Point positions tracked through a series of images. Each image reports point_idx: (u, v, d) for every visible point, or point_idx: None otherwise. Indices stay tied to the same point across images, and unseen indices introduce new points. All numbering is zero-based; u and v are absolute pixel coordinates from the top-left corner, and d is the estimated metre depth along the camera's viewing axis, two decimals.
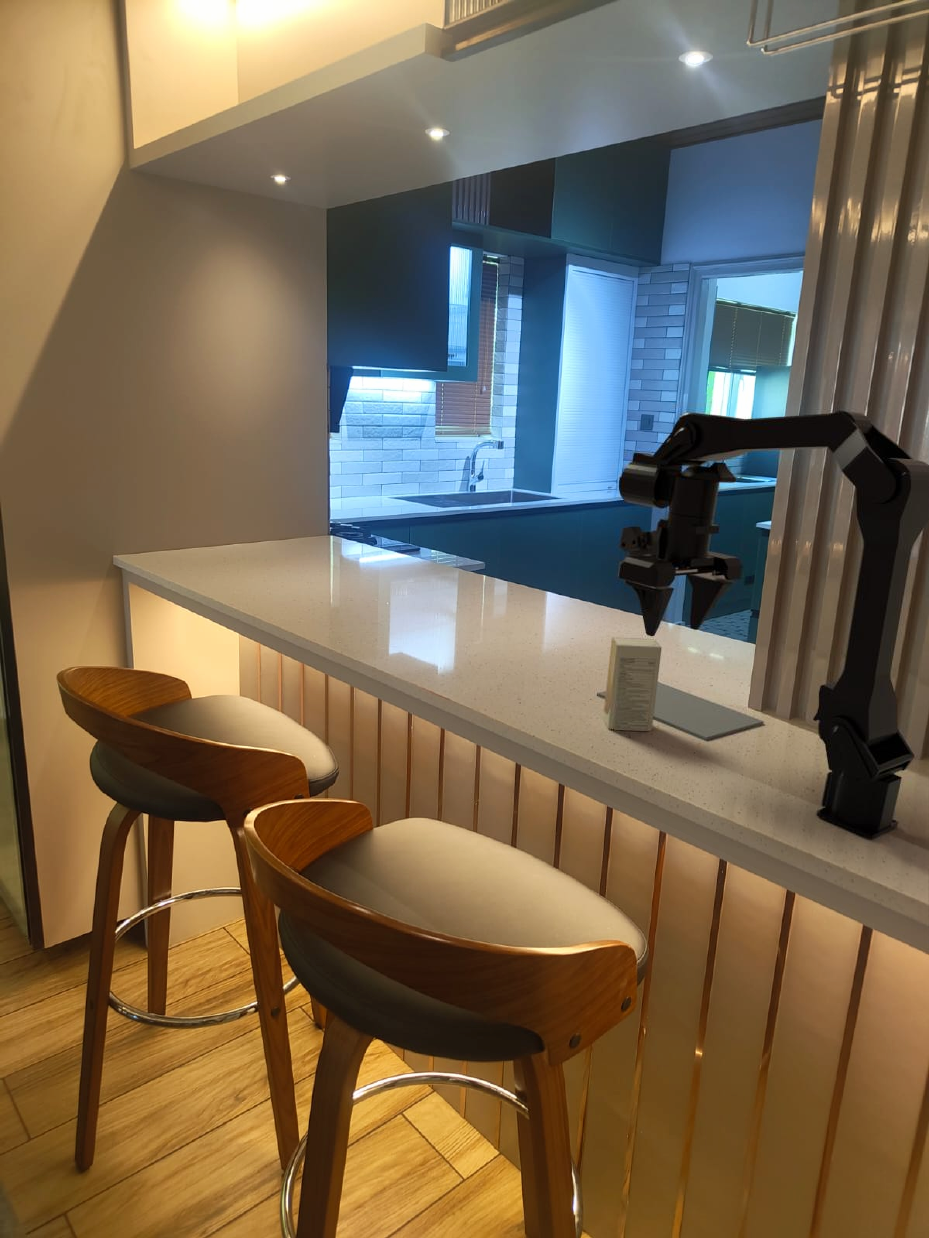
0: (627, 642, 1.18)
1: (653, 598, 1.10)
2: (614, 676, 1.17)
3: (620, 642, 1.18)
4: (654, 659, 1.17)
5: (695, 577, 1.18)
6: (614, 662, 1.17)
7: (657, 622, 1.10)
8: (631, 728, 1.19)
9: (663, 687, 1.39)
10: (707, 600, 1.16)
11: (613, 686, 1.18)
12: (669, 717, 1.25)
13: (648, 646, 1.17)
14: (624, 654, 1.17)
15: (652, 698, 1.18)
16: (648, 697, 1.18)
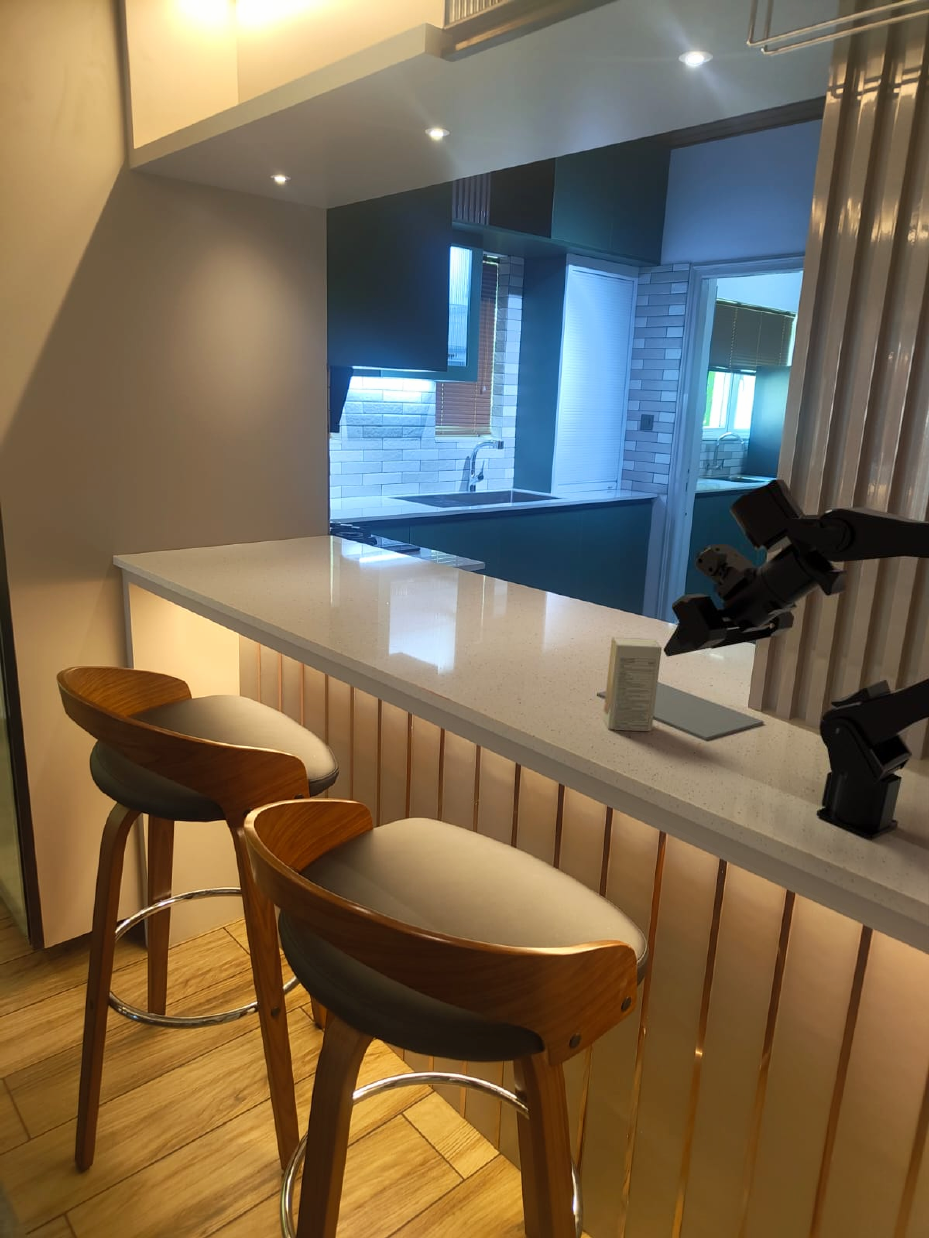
0: (627, 642, 1.18)
1: None
2: (614, 676, 1.17)
3: (620, 642, 1.18)
4: (654, 659, 1.17)
5: None
6: (614, 662, 1.17)
7: (678, 654, 1.07)
8: (631, 728, 1.19)
9: (663, 687, 1.39)
10: (738, 637, 1.12)
11: (613, 686, 1.18)
12: (669, 717, 1.25)
13: (648, 646, 1.17)
14: (624, 654, 1.17)
15: (652, 698, 1.18)
16: (648, 697, 1.18)
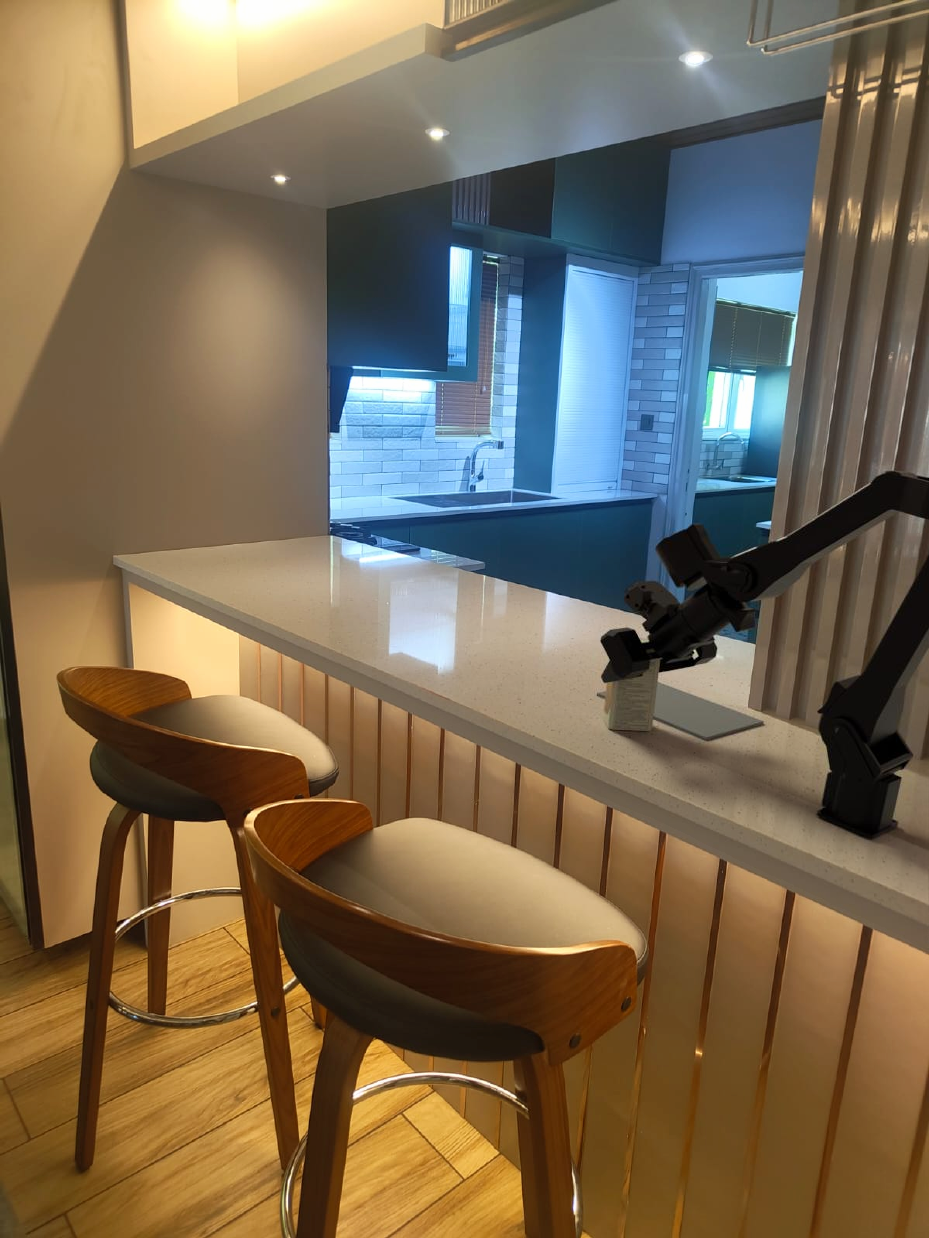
0: None
1: None
2: None
3: None
4: None
5: None
6: None
7: (613, 681, 1.17)
8: (631, 728, 1.19)
9: (663, 687, 1.39)
10: (663, 666, 1.20)
11: (613, 686, 1.18)
12: (669, 717, 1.25)
13: None
14: None
15: (652, 698, 1.18)
16: (648, 697, 1.18)
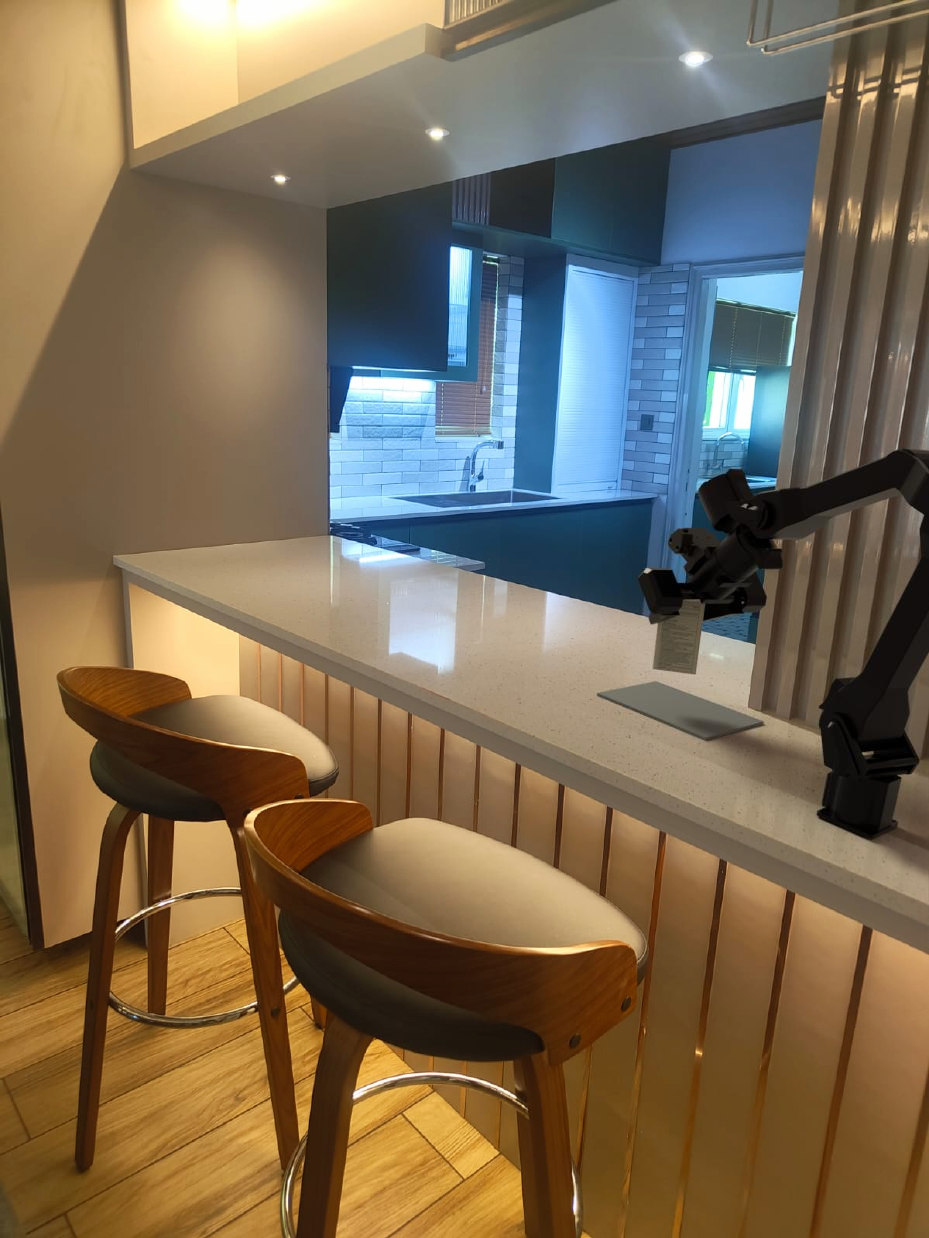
0: None
1: None
2: None
3: None
4: (699, 603, 1.22)
5: None
6: None
7: (657, 621, 1.23)
8: (675, 670, 1.24)
9: (663, 687, 1.39)
10: (712, 612, 1.24)
11: (658, 627, 1.24)
12: (669, 717, 1.25)
13: None
14: None
15: (696, 642, 1.23)
16: (692, 640, 1.23)
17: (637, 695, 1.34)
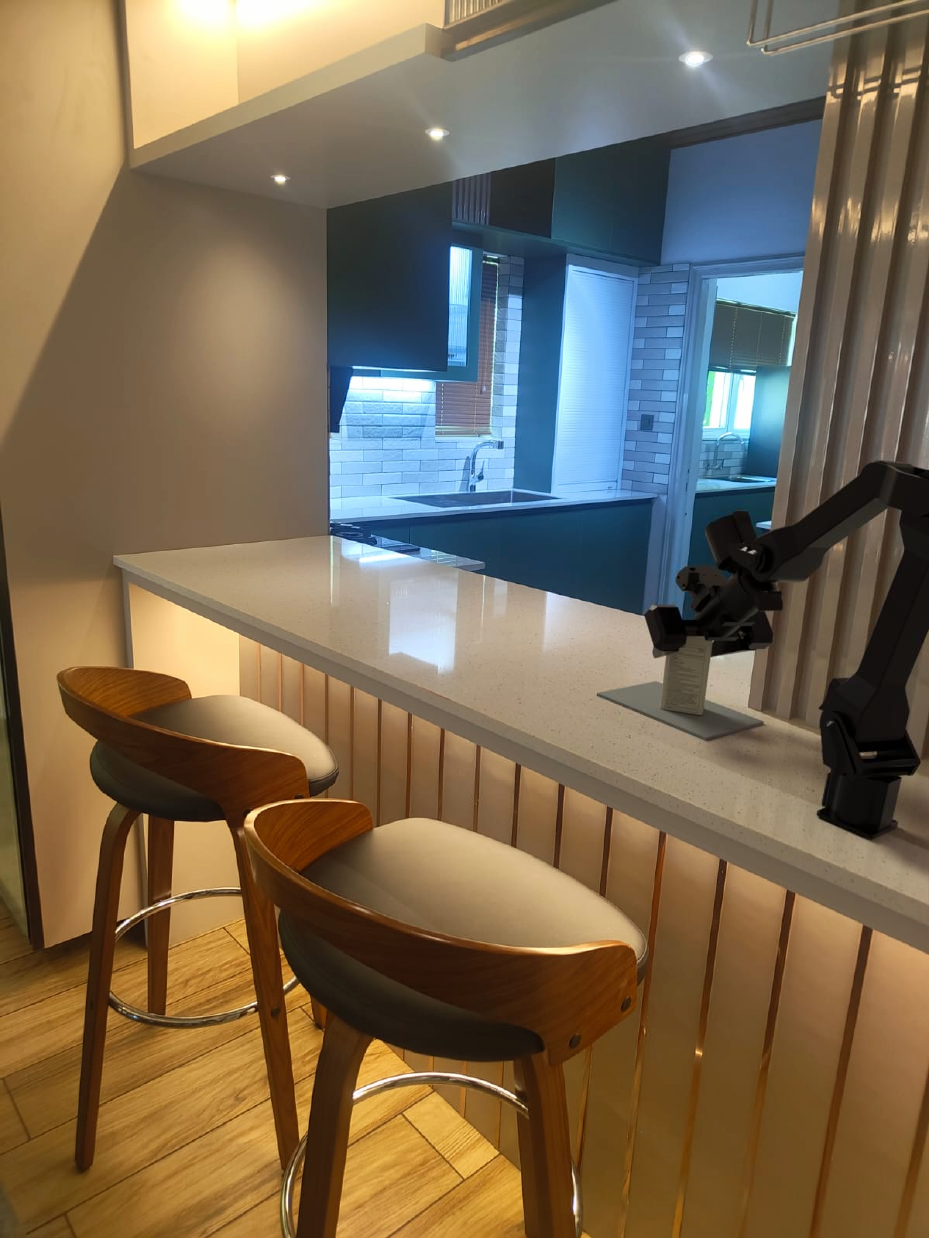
0: None
1: None
2: (666, 659, 1.27)
3: None
4: (705, 646, 1.24)
5: None
6: None
7: (659, 656, 1.26)
8: (681, 710, 1.27)
9: None
10: (725, 648, 1.27)
11: (665, 668, 1.27)
12: (669, 717, 1.25)
13: None
14: None
15: (702, 684, 1.26)
16: (698, 682, 1.26)
17: (637, 695, 1.34)
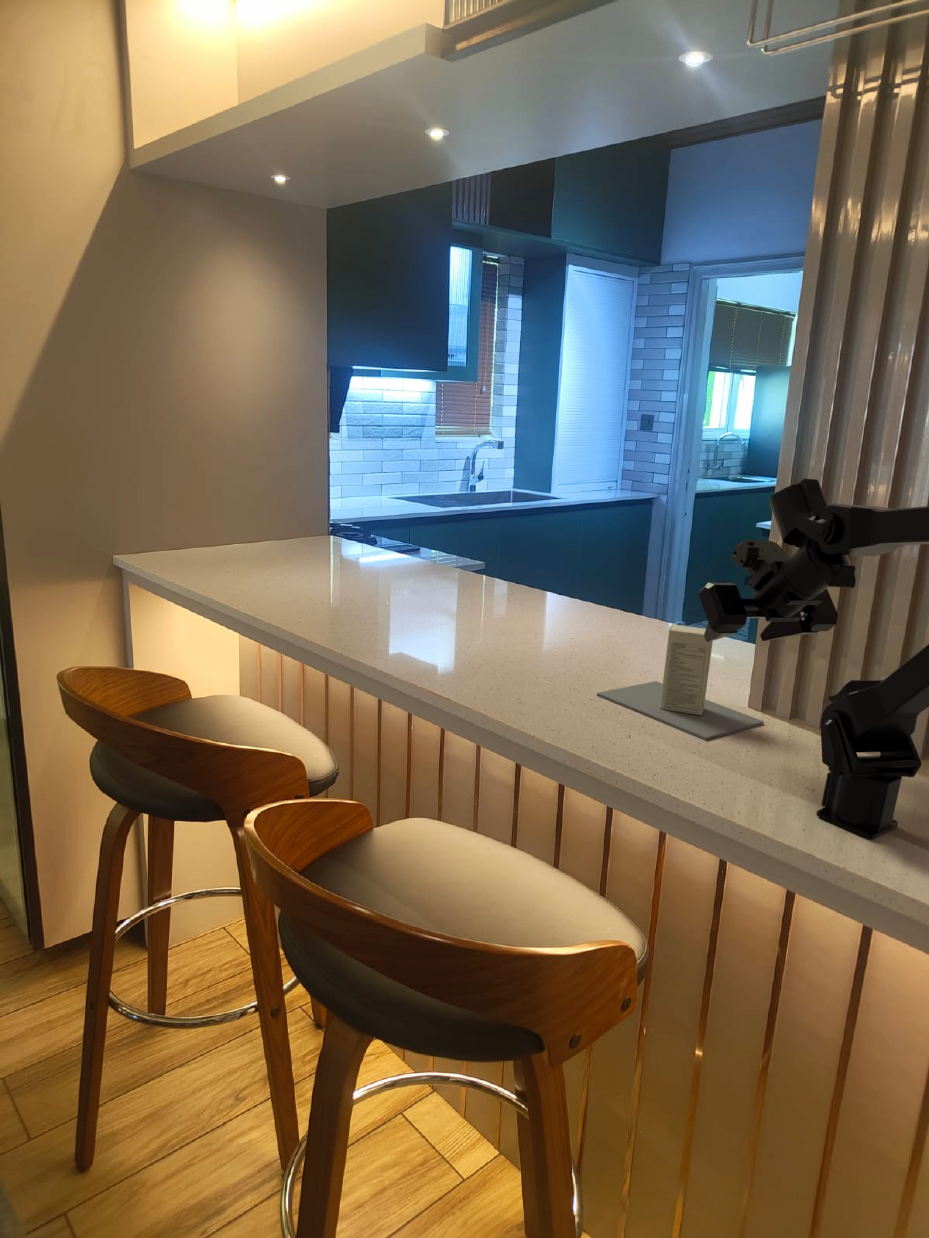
0: (681, 629, 1.26)
1: None
2: (666, 659, 1.27)
3: (674, 628, 1.27)
4: (705, 646, 1.24)
5: None
6: (667, 646, 1.27)
7: (713, 639, 1.16)
8: (681, 710, 1.27)
9: None
10: (783, 630, 1.17)
11: (665, 668, 1.27)
12: (669, 717, 1.25)
13: (699, 633, 1.24)
14: (676, 639, 1.25)
15: (702, 684, 1.26)
16: (698, 682, 1.26)
17: (637, 695, 1.34)
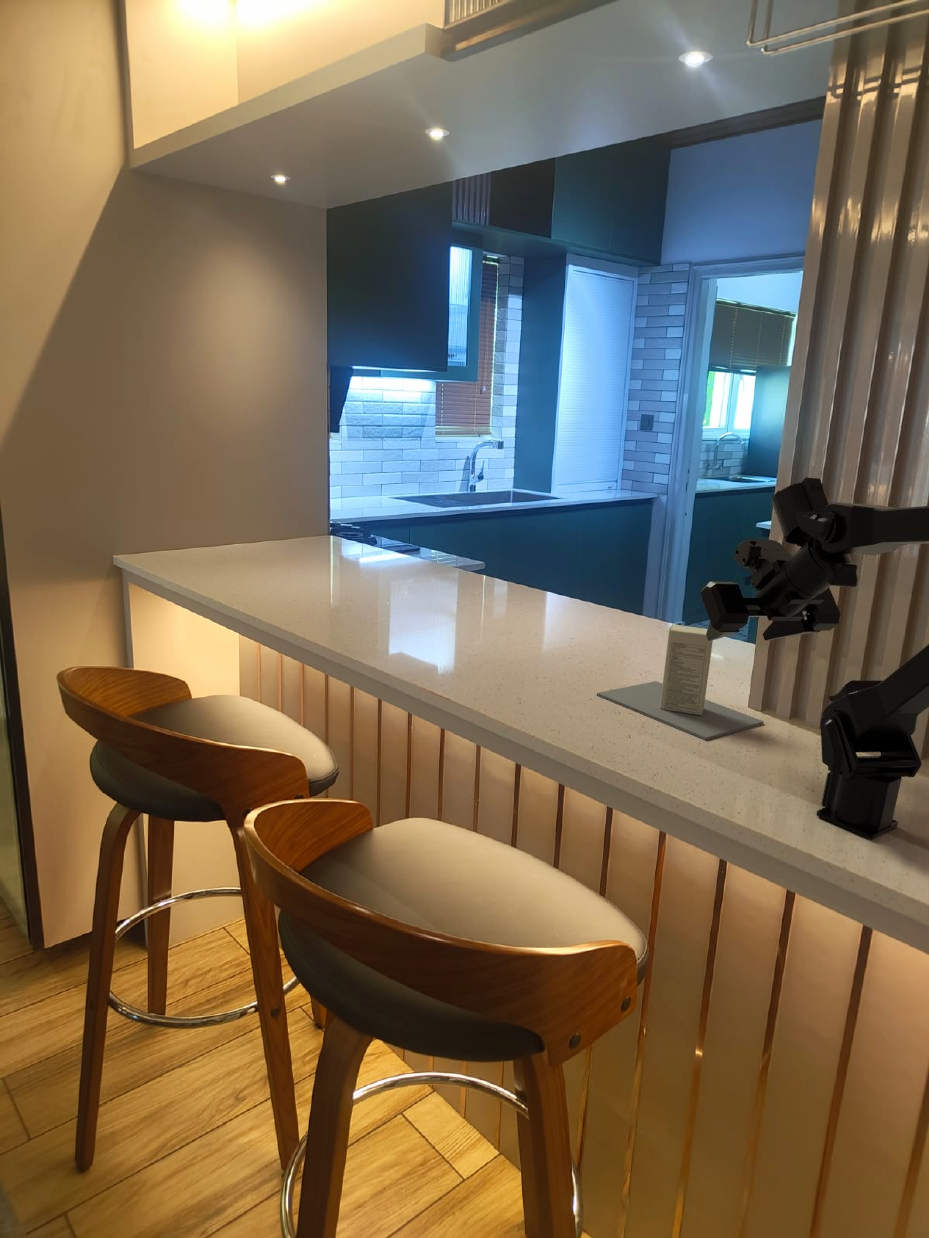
0: (681, 629, 1.26)
1: None
2: (666, 659, 1.27)
3: (674, 628, 1.27)
4: (705, 646, 1.24)
5: None
6: (667, 646, 1.27)
7: (715, 638, 1.16)
8: (681, 710, 1.27)
9: None
10: (786, 630, 1.17)
11: (665, 668, 1.27)
12: (669, 717, 1.25)
13: (699, 633, 1.25)
14: (676, 639, 1.25)
15: (702, 684, 1.26)
16: (698, 682, 1.26)
17: (637, 695, 1.34)
